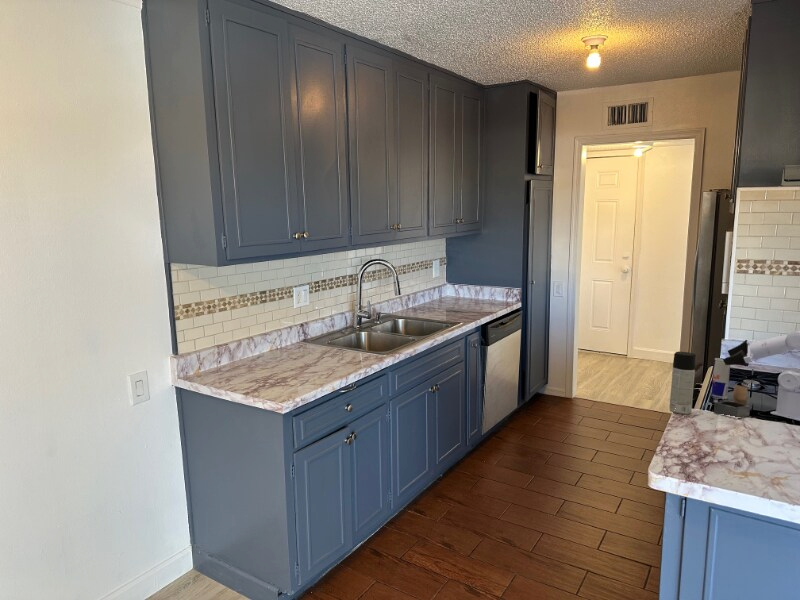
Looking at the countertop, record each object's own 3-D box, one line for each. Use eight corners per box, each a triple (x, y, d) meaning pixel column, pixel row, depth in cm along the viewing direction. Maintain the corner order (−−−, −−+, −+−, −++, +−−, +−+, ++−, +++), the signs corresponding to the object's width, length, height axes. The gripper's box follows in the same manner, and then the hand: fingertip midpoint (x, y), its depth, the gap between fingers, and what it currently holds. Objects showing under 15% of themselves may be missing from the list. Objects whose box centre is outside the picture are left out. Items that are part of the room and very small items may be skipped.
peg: (748, 410, 192) (750, 387, 191) (742, 411, 190) (744, 388, 189) (736, 407, 196) (738, 384, 195) (729, 408, 193) (731, 386, 193)
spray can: (693, 412, 188) (698, 353, 186) (687, 416, 183) (692, 355, 181) (672, 407, 192) (677, 350, 191) (666, 411, 187) (670, 352, 186)
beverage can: (712, 396, 210) (716, 356, 208) (728, 398, 207) (731, 359, 205) (709, 398, 206) (713, 358, 204) (725, 401, 203) (729, 360, 201)
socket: (749, 416, 185) (750, 405, 185) (737, 419, 181) (738, 408, 181) (725, 410, 191) (726, 400, 191) (713, 412, 187) (714, 402, 187)
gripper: (766, 329, 196) (725, 340, 205) (759, 345, 185) (717, 355, 195) (775, 347, 196) (734, 357, 205) (769, 364, 185) (726, 373, 195)
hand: (726, 357), depth 200 cm, fingers open, 7 cm apart
